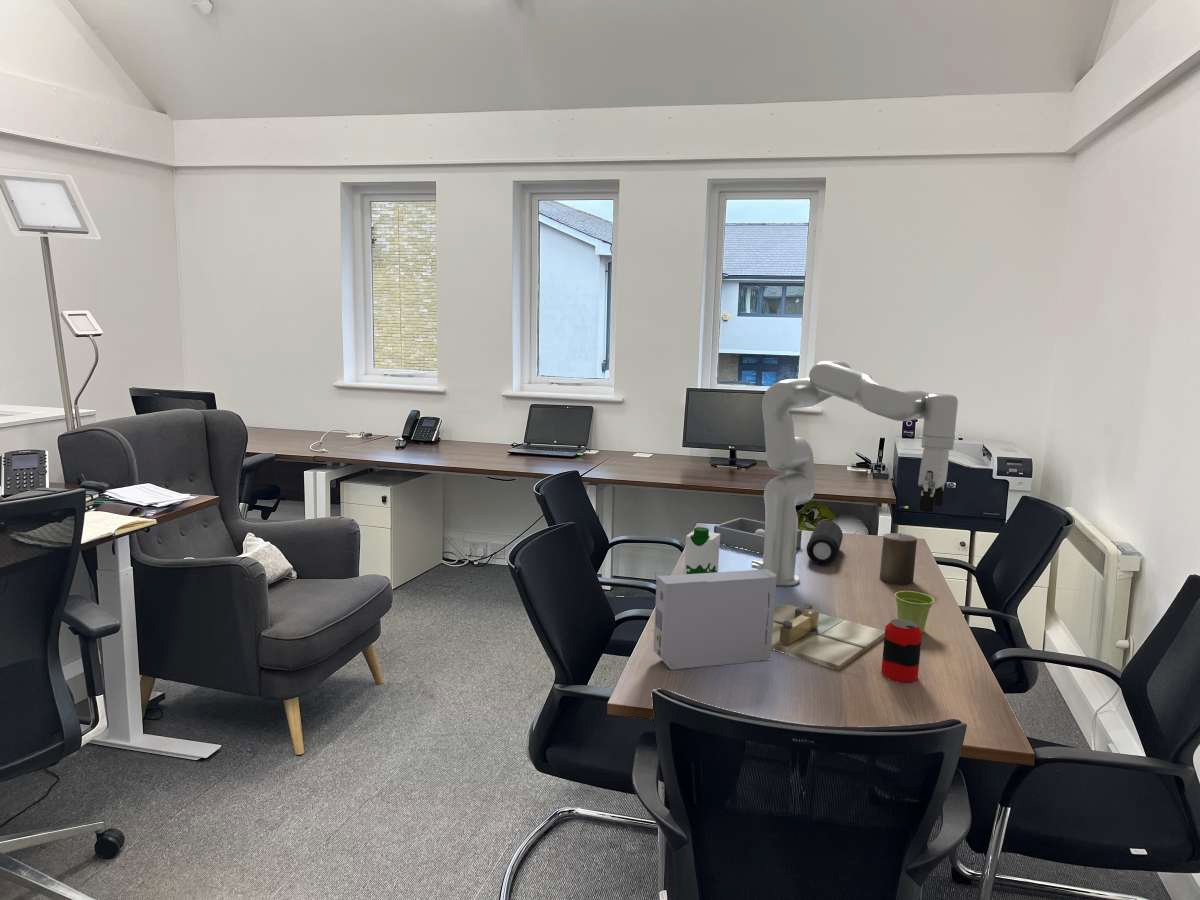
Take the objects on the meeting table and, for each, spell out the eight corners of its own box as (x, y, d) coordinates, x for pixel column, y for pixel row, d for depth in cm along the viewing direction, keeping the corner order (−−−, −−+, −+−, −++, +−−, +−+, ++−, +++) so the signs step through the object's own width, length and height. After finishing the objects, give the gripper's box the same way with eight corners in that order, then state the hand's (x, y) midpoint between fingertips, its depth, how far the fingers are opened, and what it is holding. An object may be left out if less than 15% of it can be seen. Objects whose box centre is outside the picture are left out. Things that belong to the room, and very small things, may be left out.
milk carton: (679, 599, 224) (683, 528, 221) (690, 590, 233) (693, 521, 229) (710, 604, 221) (714, 533, 218) (720, 595, 229) (724, 525, 226)
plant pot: (929, 626, 210) (933, 593, 209) (931, 639, 202) (935, 605, 200) (891, 620, 213) (894, 588, 212) (891, 633, 205) (894, 600, 203)
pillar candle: (913, 587, 241) (918, 538, 239) (878, 582, 245) (883, 534, 242) (912, 578, 251) (917, 530, 248) (878, 574, 254) (883, 527, 251)
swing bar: (805, 624, 203) (806, 605, 202) (820, 628, 201) (821, 609, 200) (776, 641, 192) (777, 621, 191) (791, 645, 189) (793, 626, 188)
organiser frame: (713, 542, 283) (714, 526, 282) (739, 533, 297) (740, 517, 296) (775, 557, 268) (776, 539, 267) (800, 546, 282) (801, 529, 281)
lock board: (729, 636, 199) (730, 620, 198) (783, 607, 220) (784, 593, 220) (838, 670, 181) (839, 653, 181) (886, 635, 203) (887, 620, 202)
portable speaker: (812, 545, 284) (814, 517, 283) (842, 549, 281) (844, 520, 279) (804, 565, 261) (806, 535, 259) (836, 569, 257) (839, 538, 256)
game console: (774, 660, 186) (780, 576, 182) (662, 671, 178) (666, 584, 175) (762, 650, 191) (767, 568, 188) (652, 661, 183) (656, 575, 180)
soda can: (898, 685, 175) (903, 632, 173) (873, 671, 182) (878, 619, 180) (925, 680, 178) (930, 627, 176) (899, 666, 185) (904, 615, 183)
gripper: (930, 437, 216) (924, 500, 219) (913, 444, 202) (906, 511, 205) (960, 440, 212) (954, 505, 215) (945, 448, 198) (938, 516, 201)
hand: (931, 508), depth 210 cm, fingers open, 9 cm apart
